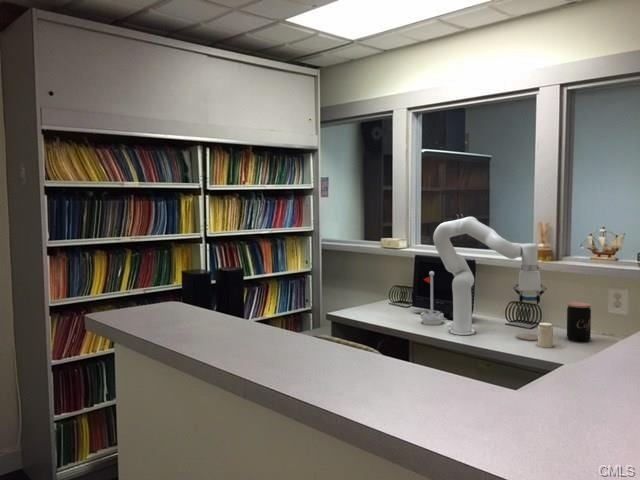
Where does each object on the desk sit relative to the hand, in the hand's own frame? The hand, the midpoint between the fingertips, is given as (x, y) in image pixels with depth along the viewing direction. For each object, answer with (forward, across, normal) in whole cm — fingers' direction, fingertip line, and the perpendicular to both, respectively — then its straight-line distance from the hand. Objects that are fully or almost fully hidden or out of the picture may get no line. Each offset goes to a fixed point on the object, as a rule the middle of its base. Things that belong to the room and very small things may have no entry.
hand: (529, 303), depth 271 cm
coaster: (+18, 0, 0) cm, 18 cm away
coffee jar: (+18, -23, -2) cm, 29 cm away
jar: (+18, -6, +13) cm, 23 cm away
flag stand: (+18, +52, -23) cm, 59 cm away
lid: (-3, 0, 0) cm, 3 cm away
